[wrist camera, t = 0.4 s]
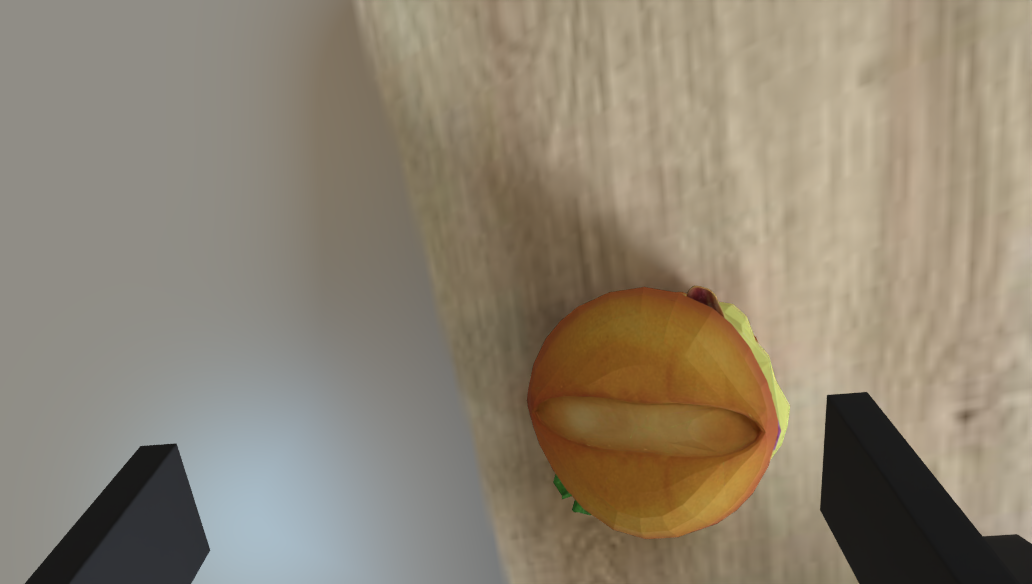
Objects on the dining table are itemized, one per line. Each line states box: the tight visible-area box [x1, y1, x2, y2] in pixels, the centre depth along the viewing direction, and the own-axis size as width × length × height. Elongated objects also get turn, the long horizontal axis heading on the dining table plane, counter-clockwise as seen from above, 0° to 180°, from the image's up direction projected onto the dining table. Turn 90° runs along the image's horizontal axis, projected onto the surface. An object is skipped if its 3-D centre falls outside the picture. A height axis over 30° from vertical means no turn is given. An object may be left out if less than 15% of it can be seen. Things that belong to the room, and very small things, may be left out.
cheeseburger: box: [527, 286, 790, 539], centre depth 31 cm, size 10×11×10 cm
